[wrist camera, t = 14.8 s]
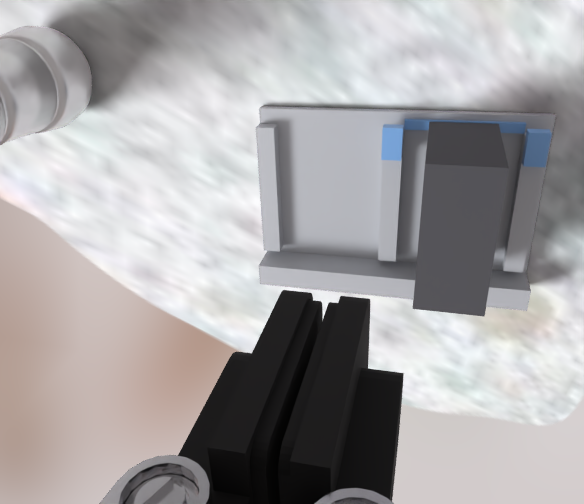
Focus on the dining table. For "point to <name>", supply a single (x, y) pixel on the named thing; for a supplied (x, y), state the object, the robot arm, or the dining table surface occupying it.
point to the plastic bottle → (40, 81)
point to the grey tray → (380, 197)
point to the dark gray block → (459, 216)
